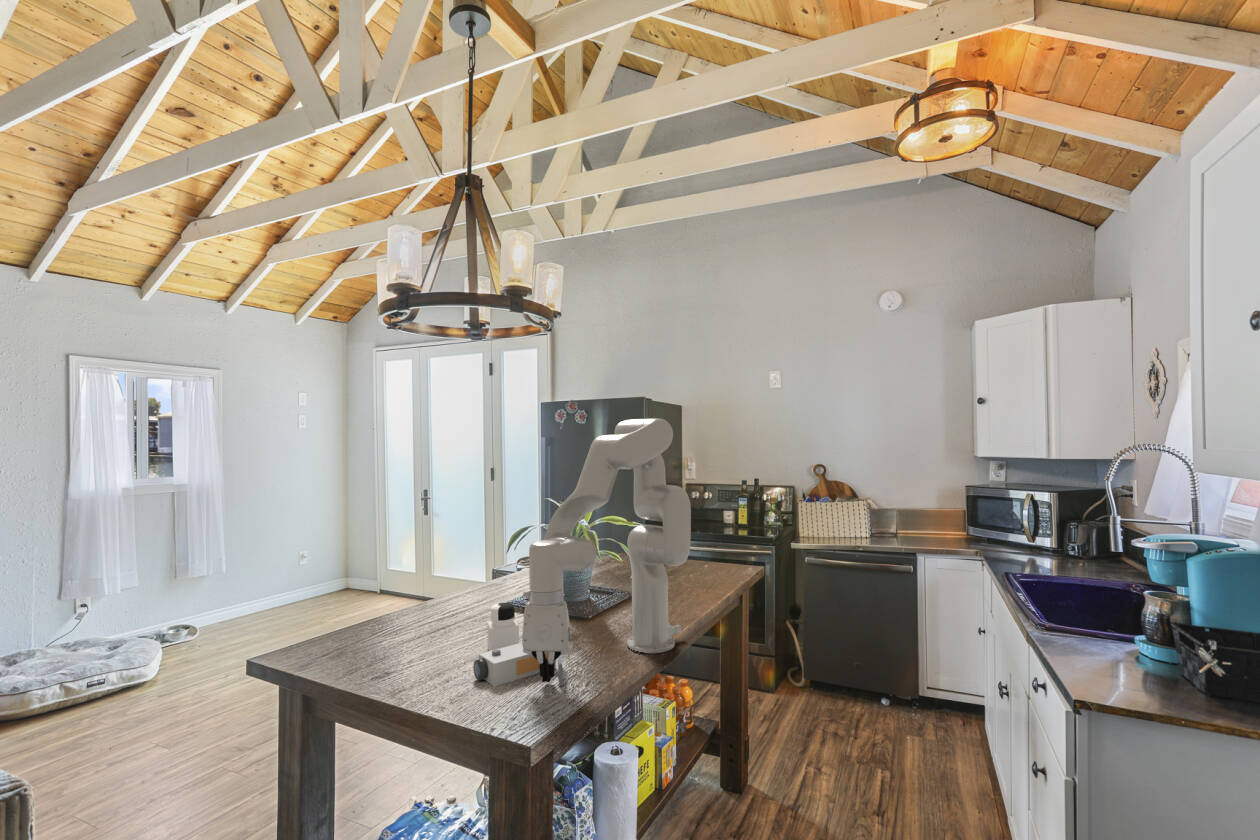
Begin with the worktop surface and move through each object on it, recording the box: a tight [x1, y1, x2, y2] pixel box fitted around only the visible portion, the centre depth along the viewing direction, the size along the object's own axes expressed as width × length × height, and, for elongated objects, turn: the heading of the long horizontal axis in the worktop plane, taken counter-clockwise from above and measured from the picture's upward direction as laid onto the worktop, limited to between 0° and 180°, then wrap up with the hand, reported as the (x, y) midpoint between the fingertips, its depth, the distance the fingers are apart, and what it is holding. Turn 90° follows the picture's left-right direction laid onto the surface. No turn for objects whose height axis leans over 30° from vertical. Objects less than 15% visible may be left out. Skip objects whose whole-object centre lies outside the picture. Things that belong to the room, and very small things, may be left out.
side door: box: [557, 655, 566, 687], centre depth 136 cm, size 12×1×5 cm, turn 8°
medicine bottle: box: [486, 602, 520, 651], centre depth 154 cm, size 7×7×12 cm
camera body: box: [472, 642, 557, 687], centre depth 139 cm, size 18×8×6 cm, turn 130°
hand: (547, 679), depth 131 cm, fingers closed
